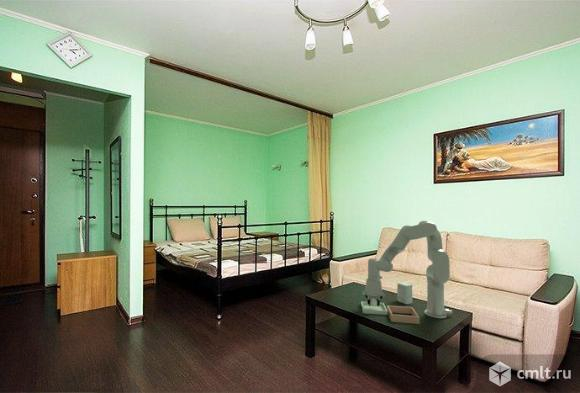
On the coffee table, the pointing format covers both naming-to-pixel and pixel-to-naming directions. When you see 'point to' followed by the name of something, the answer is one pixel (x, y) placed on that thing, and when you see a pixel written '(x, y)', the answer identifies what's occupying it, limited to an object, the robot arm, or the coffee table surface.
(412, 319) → the tan square frame
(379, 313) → the tray
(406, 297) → the small box
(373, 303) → the ball
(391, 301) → the coffee table surface
